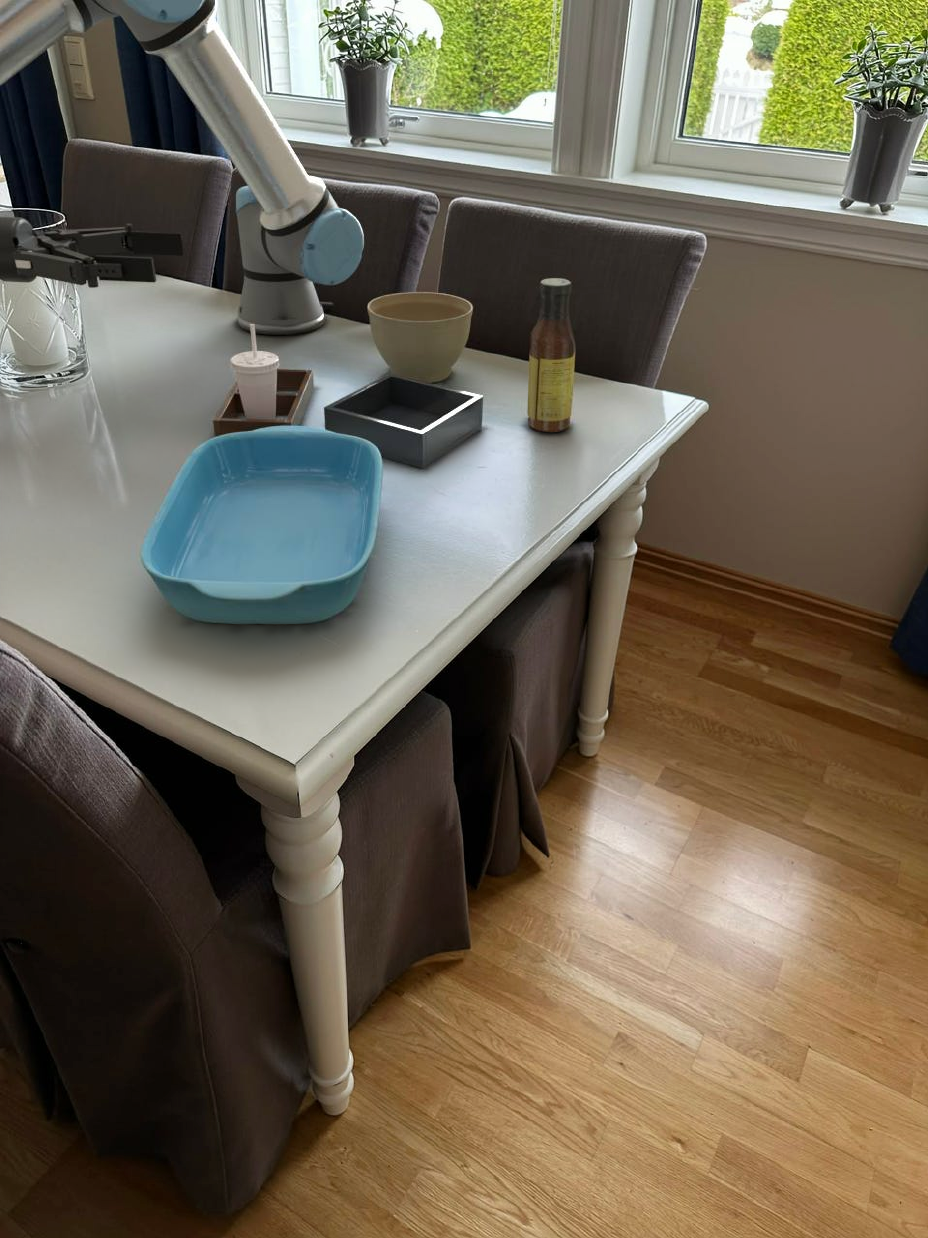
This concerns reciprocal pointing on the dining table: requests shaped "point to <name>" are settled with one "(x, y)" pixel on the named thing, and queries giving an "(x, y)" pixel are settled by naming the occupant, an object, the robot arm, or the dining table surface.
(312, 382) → the brown shallow wooden box
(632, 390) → the dining table surface
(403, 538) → the dining table surface
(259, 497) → the casserole dish
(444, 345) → the planter bowl
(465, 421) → the dark grey square tray
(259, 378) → the smoothie
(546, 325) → the sauce bottle
